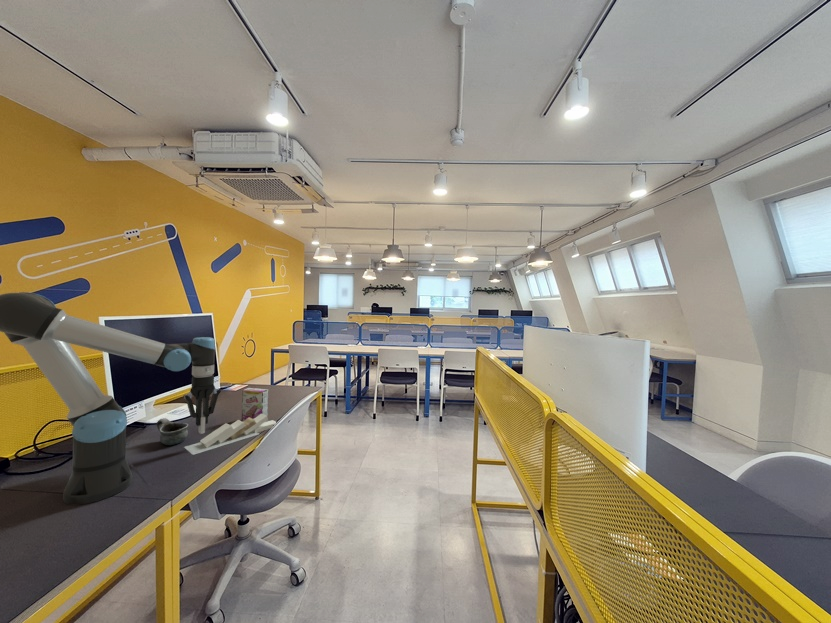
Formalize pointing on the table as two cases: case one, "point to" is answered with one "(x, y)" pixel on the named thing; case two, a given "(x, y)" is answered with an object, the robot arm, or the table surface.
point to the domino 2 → (236, 428)
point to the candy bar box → (254, 403)
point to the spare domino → (248, 423)
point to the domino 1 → (216, 435)
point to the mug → (172, 431)
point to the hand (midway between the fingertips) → (201, 432)
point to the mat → (216, 444)
